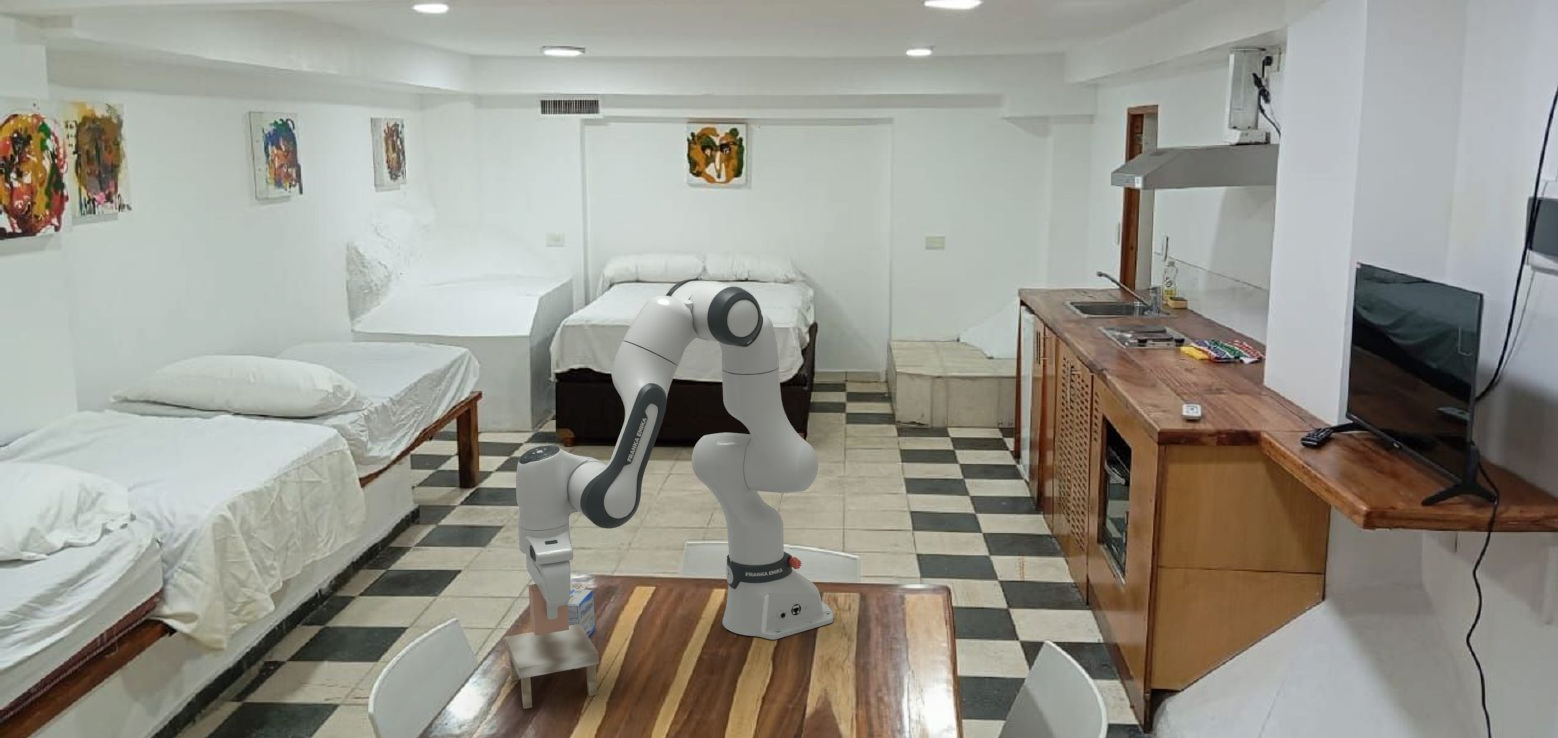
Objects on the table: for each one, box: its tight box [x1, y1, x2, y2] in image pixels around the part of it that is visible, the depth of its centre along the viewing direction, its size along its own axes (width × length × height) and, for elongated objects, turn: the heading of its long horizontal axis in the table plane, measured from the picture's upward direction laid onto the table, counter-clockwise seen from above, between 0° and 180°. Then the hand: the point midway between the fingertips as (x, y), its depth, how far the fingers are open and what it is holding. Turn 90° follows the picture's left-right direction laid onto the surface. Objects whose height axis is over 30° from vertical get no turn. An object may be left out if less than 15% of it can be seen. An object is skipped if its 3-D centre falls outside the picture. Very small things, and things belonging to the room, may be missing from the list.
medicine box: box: [568, 588, 596, 638], centre depth 239 cm, size 8×4×9 cm, turn 168°
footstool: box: [504, 624, 600, 710], centre depth 218 cm, size 14×14×8 cm
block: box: [527, 583, 569, 636], centre depth 216 cm, size 4×6×8 cm, turn 113°
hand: (548, 612), depth 216 cm, fingers closed on block, 4 cm apart
